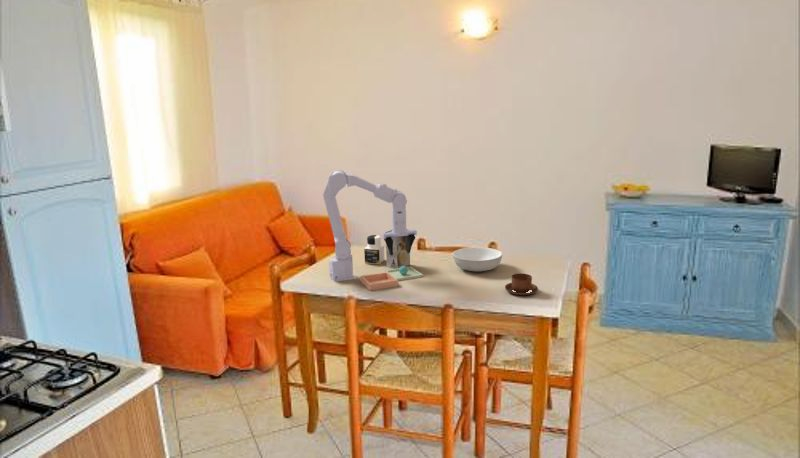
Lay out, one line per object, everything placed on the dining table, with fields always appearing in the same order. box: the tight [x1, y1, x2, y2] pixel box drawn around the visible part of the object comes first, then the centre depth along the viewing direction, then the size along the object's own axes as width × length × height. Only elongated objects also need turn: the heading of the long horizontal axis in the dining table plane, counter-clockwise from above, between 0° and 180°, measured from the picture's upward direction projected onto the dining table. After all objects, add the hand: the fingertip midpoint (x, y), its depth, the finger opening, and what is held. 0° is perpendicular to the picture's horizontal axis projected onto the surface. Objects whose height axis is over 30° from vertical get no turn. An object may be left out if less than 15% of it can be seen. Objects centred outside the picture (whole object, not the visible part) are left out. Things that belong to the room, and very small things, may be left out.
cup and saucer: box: [504, 273, 539, 296], centre depth 205 cm, size 12×12×6 cm
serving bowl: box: [452, 246, 503, 273], centre depth 234 cm, size 21×21×7 cm
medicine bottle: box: [364, 234, 386, 265], centre depth 246 cm, size 7×7×12 cm
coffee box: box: [384, 228, 411, 269], centre depth 238 cm, size 9×6×16 cm
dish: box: [359, 271, 399, 291], centre depth 217 cm, size 12×12×3 cm
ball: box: [399, 265, 408, 275], centre depth 227 cm, size 4×4×4 cm
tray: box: [384, 266, 424, 282], centre depth 227 cm, size 12×12×1 cm
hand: (399, 253), depth 226 cm, fingers open, 7 cm apart
